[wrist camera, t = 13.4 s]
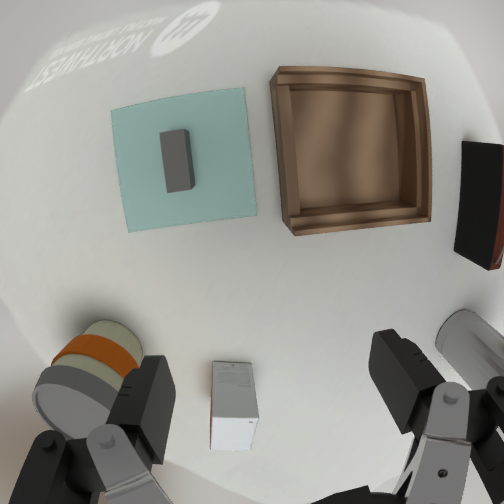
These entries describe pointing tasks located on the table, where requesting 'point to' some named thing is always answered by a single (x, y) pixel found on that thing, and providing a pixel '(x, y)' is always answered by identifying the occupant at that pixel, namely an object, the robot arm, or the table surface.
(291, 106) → the walnut box
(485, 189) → the radio
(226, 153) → the cover plate
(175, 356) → the table surface
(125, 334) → the reusable coffee cup
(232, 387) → the small box
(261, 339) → the table surface
